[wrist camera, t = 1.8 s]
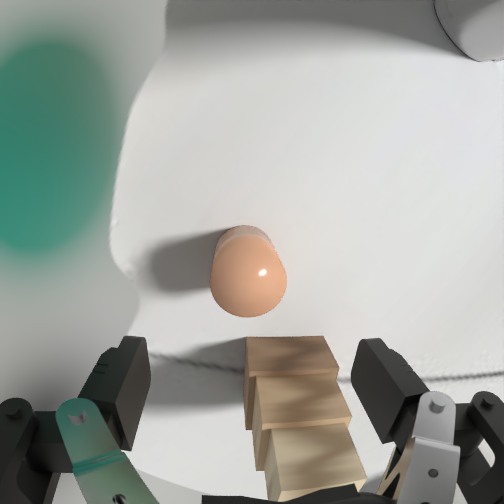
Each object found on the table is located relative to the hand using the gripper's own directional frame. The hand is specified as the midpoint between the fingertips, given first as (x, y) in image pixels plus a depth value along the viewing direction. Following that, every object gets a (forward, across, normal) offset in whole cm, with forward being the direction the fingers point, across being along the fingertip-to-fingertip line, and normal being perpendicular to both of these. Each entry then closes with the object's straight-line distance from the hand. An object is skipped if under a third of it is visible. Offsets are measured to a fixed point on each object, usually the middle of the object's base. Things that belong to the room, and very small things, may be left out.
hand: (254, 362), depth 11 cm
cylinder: (+14, 0, 0) cm, 14 cm away
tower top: (+4, -4, +11) cm, 13 cm away
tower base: (+14, -4, +11) cm, 18 cm away
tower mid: (+9, -4, +11) cm, 15 cm away
